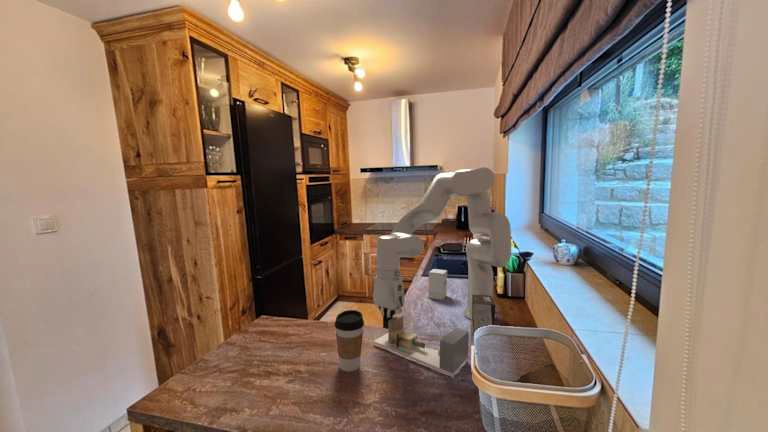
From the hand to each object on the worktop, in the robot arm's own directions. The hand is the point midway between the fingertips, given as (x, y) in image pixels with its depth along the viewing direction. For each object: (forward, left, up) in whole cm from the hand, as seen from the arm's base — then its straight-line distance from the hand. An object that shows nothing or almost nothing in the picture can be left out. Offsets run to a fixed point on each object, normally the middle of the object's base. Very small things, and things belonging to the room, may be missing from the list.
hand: (387, 326), depth 101 cm
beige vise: (0, +12, -5) cm, 13 cm away
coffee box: (-16, +26, -5) cm, 31 cm away
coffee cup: (+18, 0, -5) cm, 19 cm away
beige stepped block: (+1, +8, -3) cm, 9 cm away
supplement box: (-49, -8, -5) cm, 50 cm away
